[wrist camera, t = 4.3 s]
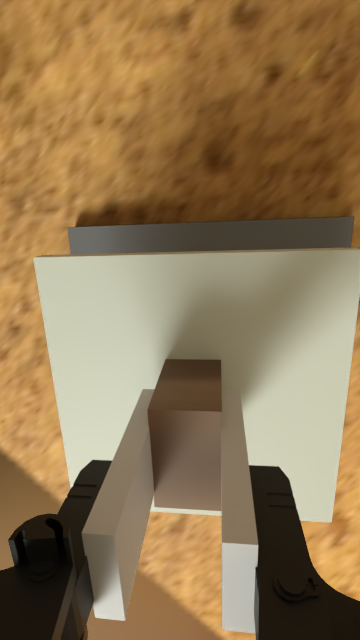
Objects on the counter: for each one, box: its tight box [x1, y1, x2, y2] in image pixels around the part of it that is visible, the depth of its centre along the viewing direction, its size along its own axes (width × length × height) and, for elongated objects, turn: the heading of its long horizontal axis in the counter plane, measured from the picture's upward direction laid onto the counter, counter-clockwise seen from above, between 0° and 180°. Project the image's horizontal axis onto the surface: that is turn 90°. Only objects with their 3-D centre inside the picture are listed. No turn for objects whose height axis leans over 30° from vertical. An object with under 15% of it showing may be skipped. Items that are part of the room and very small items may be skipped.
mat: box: [68, 217, 354, 254], centre depth 22 cm, size 16×16×1 cm
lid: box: [33, 247, 360, 522], centre depth 14 cm, size 13×13×5 cm
